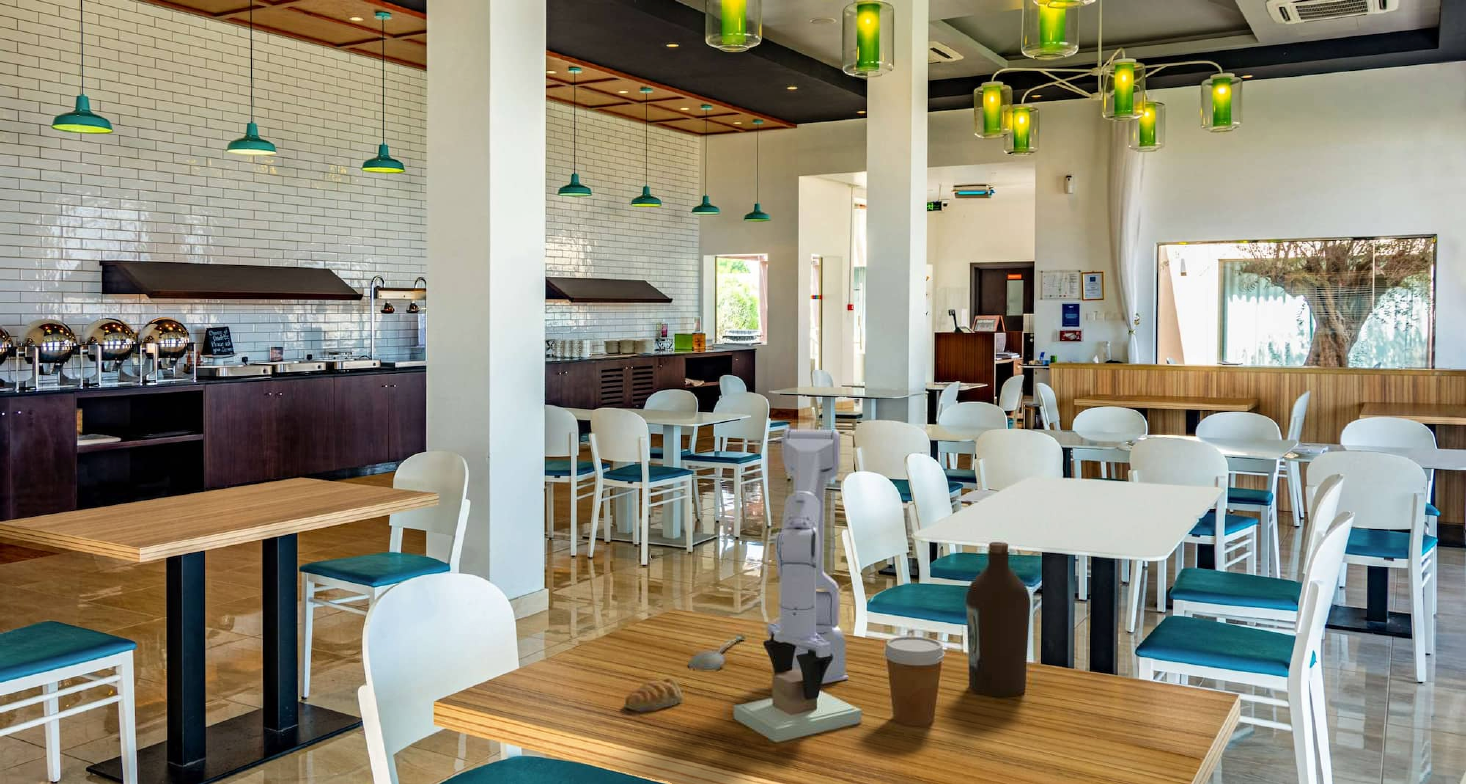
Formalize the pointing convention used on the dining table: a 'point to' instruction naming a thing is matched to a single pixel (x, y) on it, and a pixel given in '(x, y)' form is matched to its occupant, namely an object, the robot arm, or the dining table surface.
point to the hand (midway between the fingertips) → (797, 691)
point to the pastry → (654, 695)
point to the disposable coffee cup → (914, 678)
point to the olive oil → (997, 627)
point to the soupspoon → (711, 657)
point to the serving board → (797, 718)
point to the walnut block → (790, 693)
